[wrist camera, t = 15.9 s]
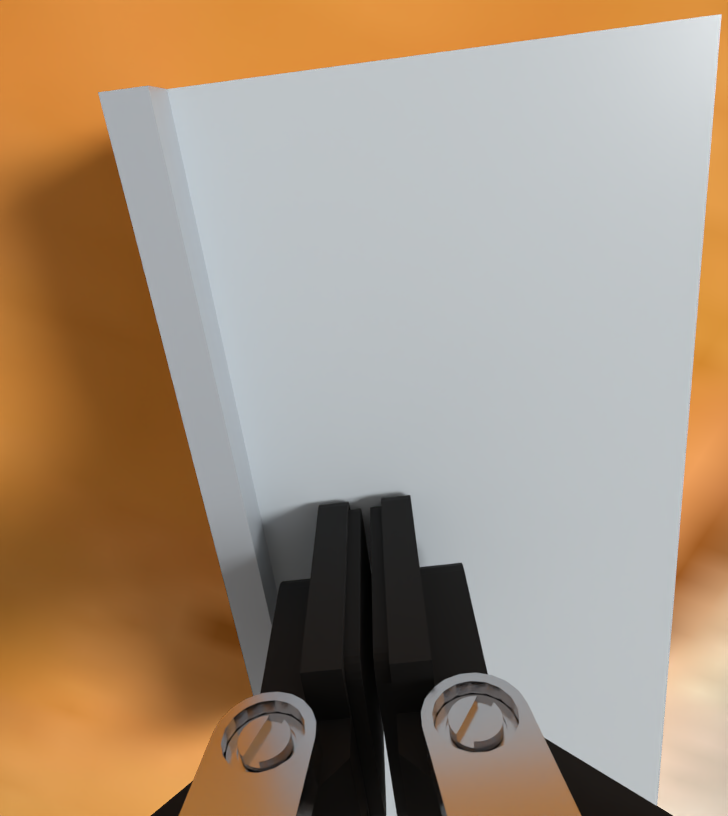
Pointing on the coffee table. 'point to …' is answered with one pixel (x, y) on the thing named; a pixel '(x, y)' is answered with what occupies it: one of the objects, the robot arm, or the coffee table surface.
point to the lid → (449, 337)
